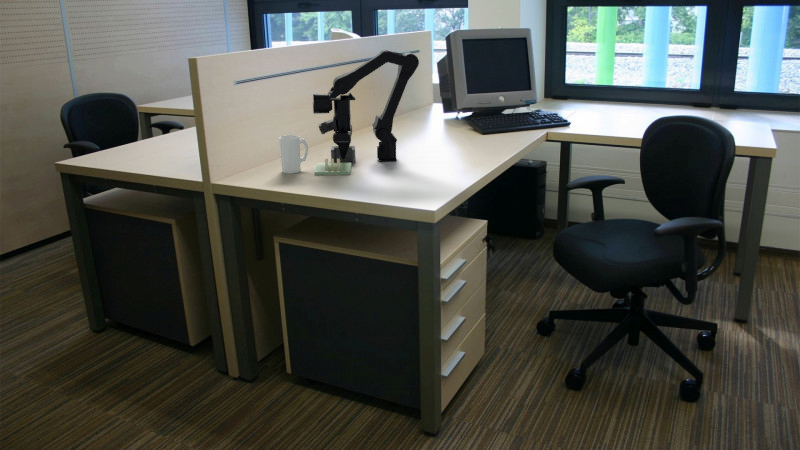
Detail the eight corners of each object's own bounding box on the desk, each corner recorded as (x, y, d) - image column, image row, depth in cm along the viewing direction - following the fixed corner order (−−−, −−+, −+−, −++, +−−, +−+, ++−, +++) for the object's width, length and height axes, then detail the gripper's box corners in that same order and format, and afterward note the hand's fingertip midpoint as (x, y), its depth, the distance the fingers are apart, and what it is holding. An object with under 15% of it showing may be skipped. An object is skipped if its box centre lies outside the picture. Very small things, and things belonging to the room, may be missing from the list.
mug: (286, 174, 223) (284, 140, 219) (278, 170, 228) (276, 136, 224) (313, 170, 228) (311, 136, 224) (304, 166, 234) (302, 132, 229)
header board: (351, 165, 235) (351, 151, 233) (350, 174, 223) (349, 160, 222) (317, 165, 234) (316, 152, 232) (314, 175, 223) (314, 160, 221)
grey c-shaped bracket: (332, 159, 243) (331, 145, 241) (355, 159, 243) (355, 145, 241) (331, 163, 237) (330, 149, 235) (355, 163, 237) (354, 149, 236)
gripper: (321, 108, 242) (323, 149, 248) (317, 118, 225) (319, 162, 230) (351, 108, 243) (352, 149, 248) (350, 117, 225) (351, 162, 231)
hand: (343, 155), depth 239 cm, fingers open, 9 cm apart
